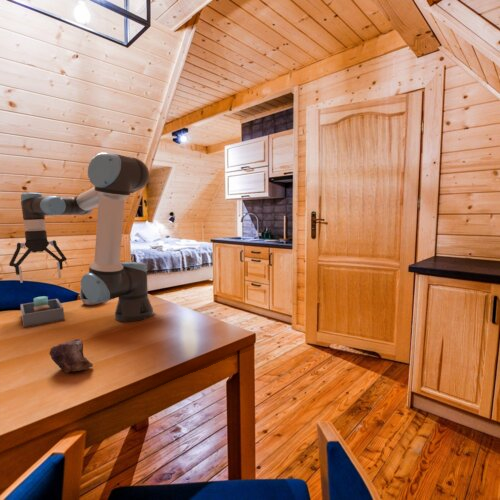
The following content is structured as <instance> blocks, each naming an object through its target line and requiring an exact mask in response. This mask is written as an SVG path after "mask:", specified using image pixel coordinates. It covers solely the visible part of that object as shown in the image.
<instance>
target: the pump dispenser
mask: <svg viewBox="0 0 500 500" xmlns="http://www.w3.org/2000/svg"><path fill="white" fill-rule="evenodd" d="M79 289H80V290H79V299H80V300H81V301H82V303H83V304H84V305H87V306H94V305H98V304H99V303H94V302H91V301H90V300H88V299H87V298H86V296H85V295H84V293H83V291H82V289H81V288H79Z"/></svg>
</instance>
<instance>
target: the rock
mask: <svg viewBox="0 0 500 500" xmlns="http://www.w3.org/2000/svg"><path fill="white" fill-rule="evenodd" d="M49 356H50V358H51V360H52V362H54V363H55V364H56V366H58V368H60V369H61V370H62V371H63V372H64V373H67V374H68V373H70V372H79V371H85V370H88V369H90V368H92V367H93V366H94V365H93V363H92V362H90V361H89V359H87V358H86V357H85V356H84V344H83V340H81V338H80V339H79V338H77V339H74V340H69V341H67V342H66V341H65V342H64V343H59V344H57V345H54V346H53V347H51V348H50V350H49Z"/></svg>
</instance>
